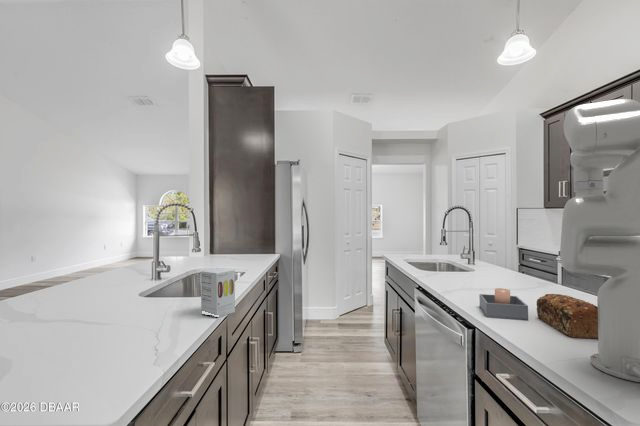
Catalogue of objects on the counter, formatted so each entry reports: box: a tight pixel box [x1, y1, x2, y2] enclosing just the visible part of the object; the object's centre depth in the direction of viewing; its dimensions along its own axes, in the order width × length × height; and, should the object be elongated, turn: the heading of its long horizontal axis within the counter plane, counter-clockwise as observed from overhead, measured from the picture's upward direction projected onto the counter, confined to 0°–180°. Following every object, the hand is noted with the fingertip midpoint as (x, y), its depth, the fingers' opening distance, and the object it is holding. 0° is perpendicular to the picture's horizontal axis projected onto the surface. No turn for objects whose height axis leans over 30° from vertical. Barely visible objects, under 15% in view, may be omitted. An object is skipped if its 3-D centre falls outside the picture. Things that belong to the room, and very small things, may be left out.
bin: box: [478, 293, 529, 321], centre depth 116 cm, size 13×13×5 cm
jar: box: [494, 287, 511, 304], centre depth 116 cm, size 5×5×8 cm
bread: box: [536, 293, 598, 340], centre depth 101 cm, size 19×11×10 cm, turn 170°
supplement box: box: [200, 267, 236, 318], centre depth 122 cm, size 10×9×17 cm
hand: (589, 238), depth 104 cm, fingers open, 9 cm apart
